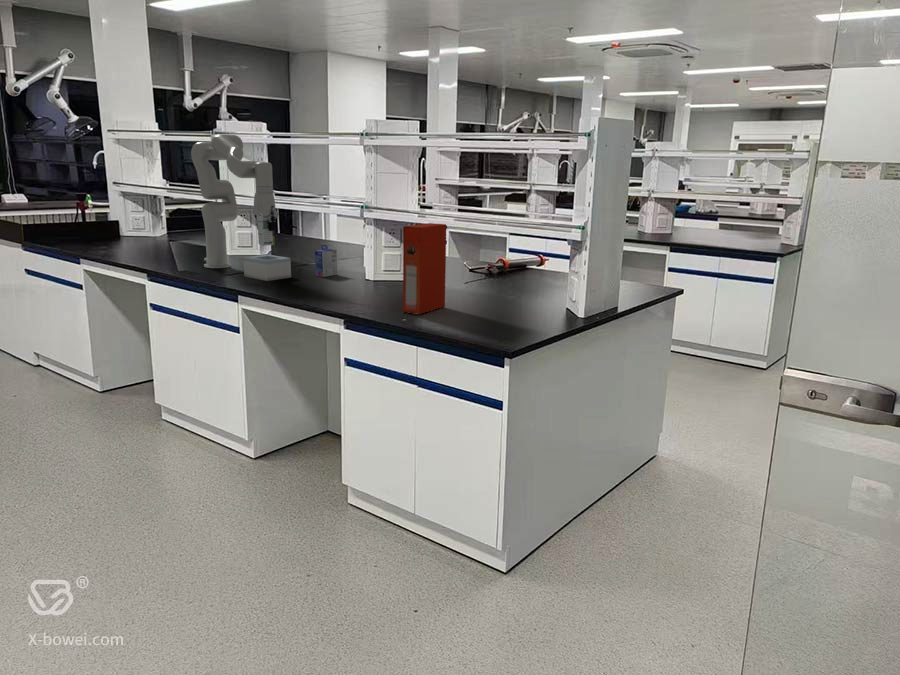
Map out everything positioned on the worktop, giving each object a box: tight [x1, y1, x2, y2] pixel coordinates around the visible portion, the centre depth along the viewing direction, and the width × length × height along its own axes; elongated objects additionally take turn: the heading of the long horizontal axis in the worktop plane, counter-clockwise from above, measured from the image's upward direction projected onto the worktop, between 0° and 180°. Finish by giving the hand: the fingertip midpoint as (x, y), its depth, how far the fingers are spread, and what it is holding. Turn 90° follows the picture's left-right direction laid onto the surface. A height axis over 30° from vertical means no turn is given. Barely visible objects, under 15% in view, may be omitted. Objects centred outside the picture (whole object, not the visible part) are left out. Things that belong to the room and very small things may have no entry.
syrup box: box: [256, 213, 276, 246], centre depth 311 cm, size 6×6×14 cm
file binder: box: [402, 222, 447, 315], centre depth 255 cm, size 8×17×32 cm, turn 149°
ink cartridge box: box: [314, 244, 338, 278], centre depth 324 cm, size 10×6×14 cm, turn 145°
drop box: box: [242, 254, 292, 282], centre depth 316 cm, size 16×14×9 cm
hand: (265, 229), depth 311 cm, fingers closed on syrup box, 7 cm apart
